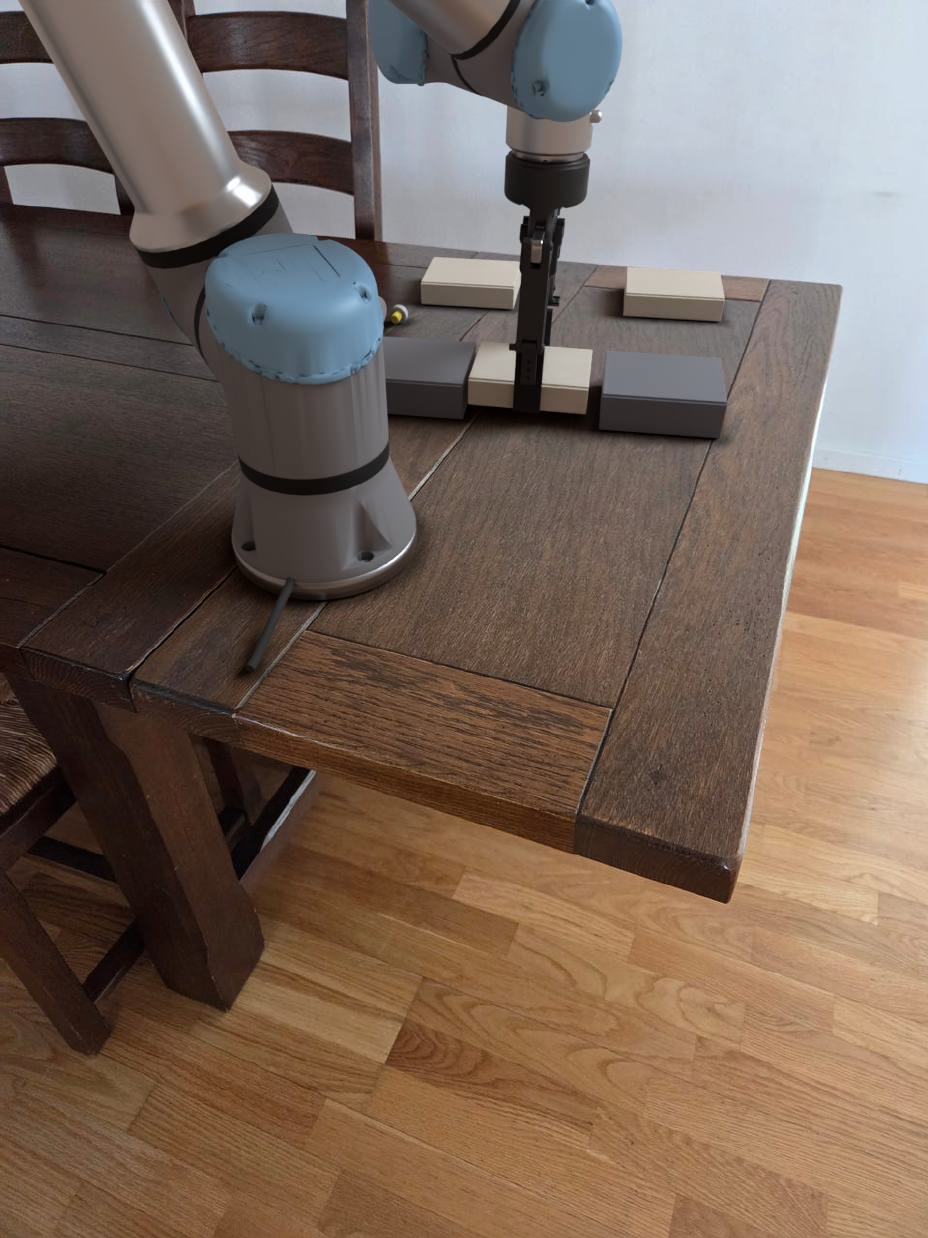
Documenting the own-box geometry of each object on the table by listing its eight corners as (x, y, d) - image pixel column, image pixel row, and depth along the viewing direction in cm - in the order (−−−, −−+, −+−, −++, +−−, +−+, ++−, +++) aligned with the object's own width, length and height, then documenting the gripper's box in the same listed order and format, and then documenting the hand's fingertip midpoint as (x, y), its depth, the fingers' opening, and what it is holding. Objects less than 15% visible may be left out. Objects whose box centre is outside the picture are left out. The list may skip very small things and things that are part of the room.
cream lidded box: (720, 322, 107) (725, 298, 105) (623, 316, 108) (626, 293, 106) (715, 294, 114) (720, 271, 112) (624, 289, 115) (627, 266, 113)
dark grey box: (719, 440, 85) (727, 403, 83) (598, 431, 87) (602, 394, 84) (713, 392, 93) (720, 357, 90) (602, 384, 94) (605, 350, 92)
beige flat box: (585, 416, 86) (588, 388, 84) (467, 406, 88) (468, 378, 86) (589, 375, 93) (592, 349, 91) (480, 366, 95) (481, 340, 93)
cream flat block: (513, 310, 110) (513, 287, 108) (421, 305, 111) (420, 281, 109) (520, 283, 117) (521, 261, 115) (434, 278, 118) (433, 256, 116)
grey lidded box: (462, 421, 88) (461, 385, 86) (348, 412, 90) (345, 377, 87) (476, 376, 96) (476, 341, 93) (371, 369, 98) (369, 335, 95)
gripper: (585, 187, 67) (559, 442, 82) (595, 126, 83) (572, 348, 98) (489, 181, 68) (481, 435, 82) (519, 122, 84) (507, 342, 99)
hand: (530, 387), depth 90 cm, fingers closed on beige flat box, 9 cm apart
